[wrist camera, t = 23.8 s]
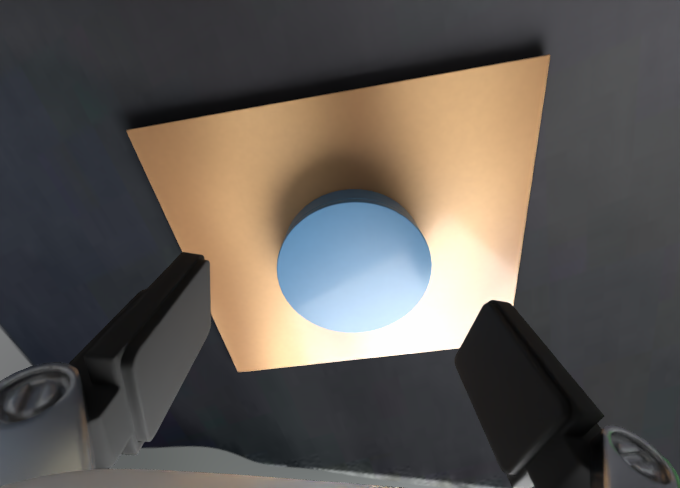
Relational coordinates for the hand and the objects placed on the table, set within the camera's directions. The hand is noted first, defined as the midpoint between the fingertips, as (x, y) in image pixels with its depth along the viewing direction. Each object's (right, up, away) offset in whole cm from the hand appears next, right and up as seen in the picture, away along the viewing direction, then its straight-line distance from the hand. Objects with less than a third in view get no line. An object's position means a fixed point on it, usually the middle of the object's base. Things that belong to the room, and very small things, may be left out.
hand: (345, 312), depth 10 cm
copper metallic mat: (0, +2, +4) cm, 5 cm away
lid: (0, +1, +3) cm, 3 cm away
